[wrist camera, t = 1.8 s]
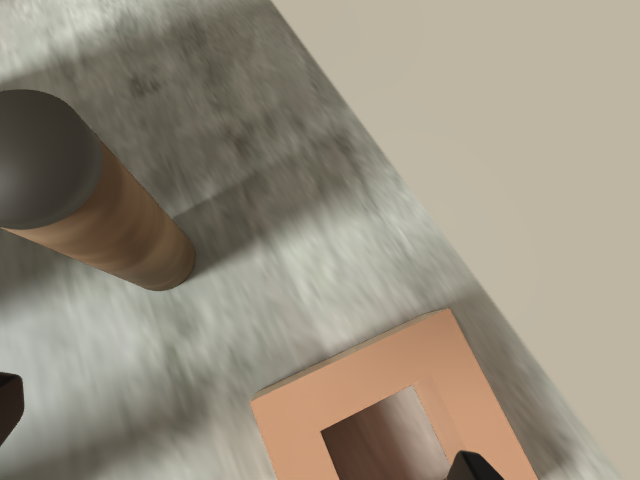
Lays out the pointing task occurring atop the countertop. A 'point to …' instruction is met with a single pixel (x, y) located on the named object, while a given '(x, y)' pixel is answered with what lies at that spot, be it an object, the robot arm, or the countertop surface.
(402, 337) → the socket block
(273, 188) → the countertop surface
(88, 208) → the peg
